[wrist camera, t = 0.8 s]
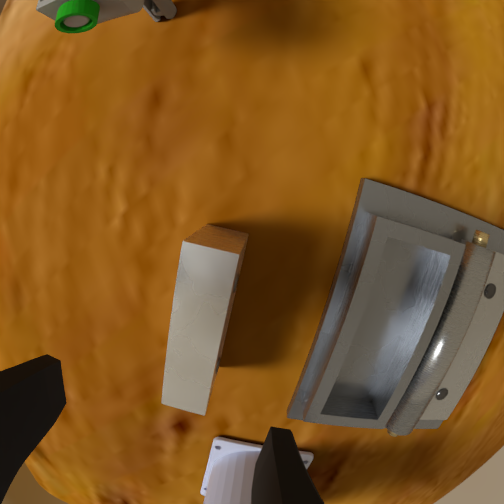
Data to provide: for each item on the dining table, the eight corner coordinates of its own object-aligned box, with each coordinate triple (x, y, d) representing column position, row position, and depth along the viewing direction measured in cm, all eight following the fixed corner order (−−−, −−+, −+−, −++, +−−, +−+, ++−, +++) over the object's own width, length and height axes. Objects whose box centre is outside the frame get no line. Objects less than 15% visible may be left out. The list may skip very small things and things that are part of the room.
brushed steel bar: (220, 366, 20) (206, 415, 15) (184, 356, 20) (161, 403, 15) (250, 233, 18) (241, 254, 13) (207, 223, 18) (182, 241, 13)
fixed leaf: (434, 422, 20) (447, 447, 17) (286, 410, 20) (287, 441, 17) (517, 237, 16) (545, 247, 13) (361, 178, 16) (379, 178, 13)
